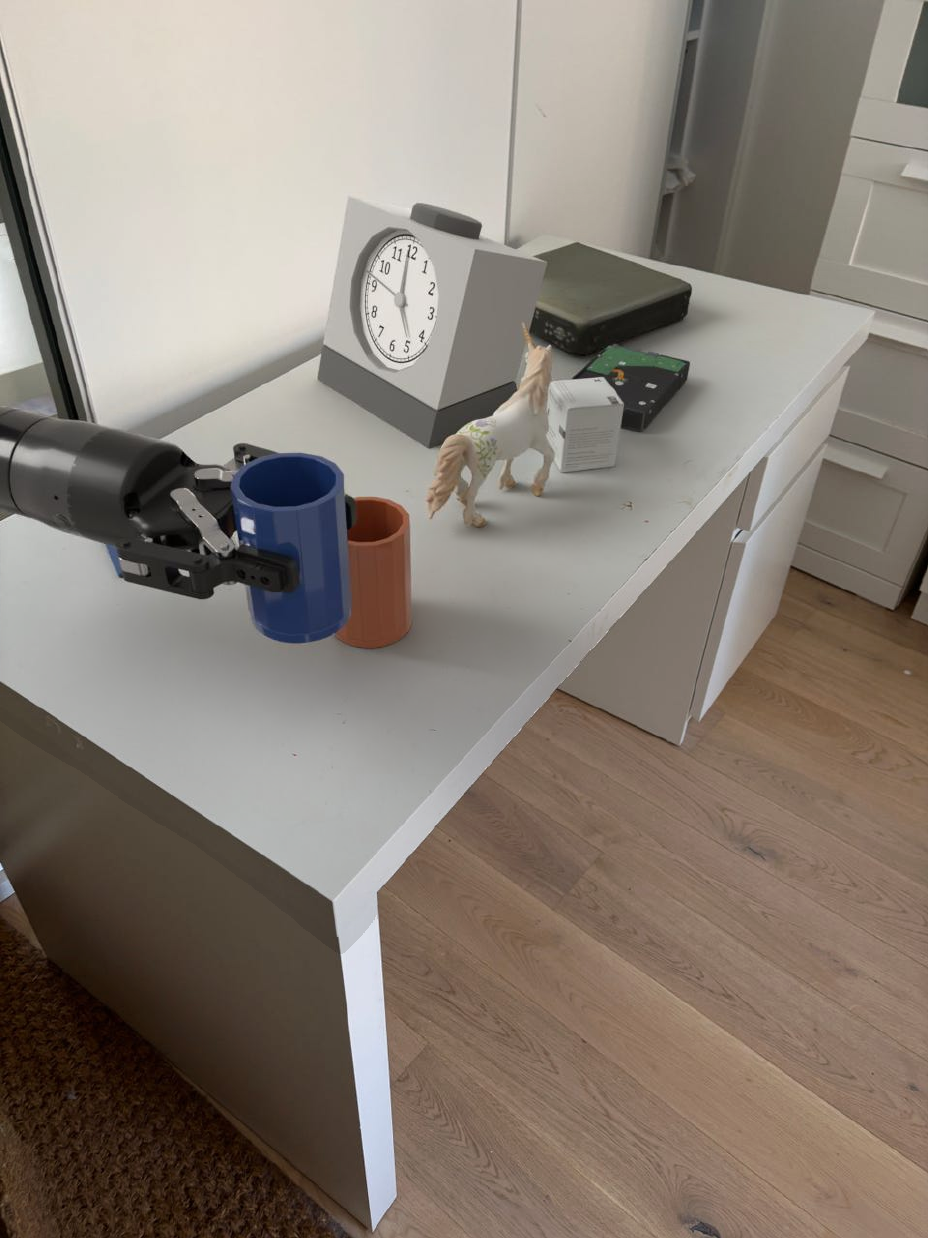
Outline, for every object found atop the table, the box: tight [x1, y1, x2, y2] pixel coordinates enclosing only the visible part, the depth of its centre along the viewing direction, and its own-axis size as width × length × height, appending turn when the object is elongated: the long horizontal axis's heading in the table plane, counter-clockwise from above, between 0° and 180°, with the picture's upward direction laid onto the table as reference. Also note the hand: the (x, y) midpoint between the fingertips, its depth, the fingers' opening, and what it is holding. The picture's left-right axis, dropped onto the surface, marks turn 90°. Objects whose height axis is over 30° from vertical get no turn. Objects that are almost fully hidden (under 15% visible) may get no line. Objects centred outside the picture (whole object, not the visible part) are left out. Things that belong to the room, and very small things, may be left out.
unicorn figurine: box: [424, 322, 555, 528], centre depth 90 cm, size 7×20×13 cm, turn 151°
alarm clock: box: [316, 195, 547, 449], centre depth 104 cm, size 20×16×20 cm
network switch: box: [529, 241, 693, 356], centre depth 127 cm, size 23×23×5 cm
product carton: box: [546, 377, 624, 473], centre depth 98 cm, size 6×6×7 cm
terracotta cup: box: [334, 496, 413, 649], centre depth 76 cm, size 7×7×10 cm
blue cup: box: [231, 452, 352, 645], centre depth 60 cm, size 7×7×10 cm
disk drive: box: [570, 343, 691, 432], centre depth 110 cm, size 10×3×15 cm
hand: (325, 544), depth 59 cm, fingers closed on blue cup, 6 cm apart
